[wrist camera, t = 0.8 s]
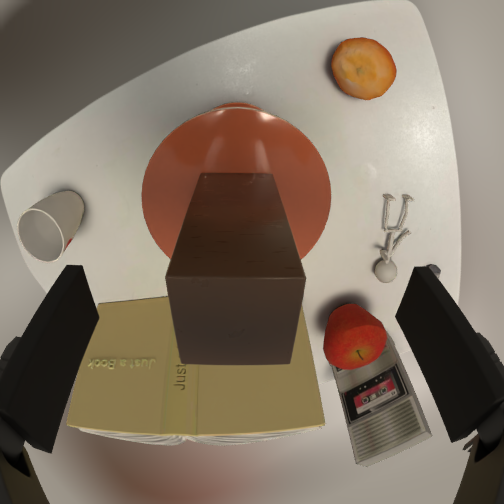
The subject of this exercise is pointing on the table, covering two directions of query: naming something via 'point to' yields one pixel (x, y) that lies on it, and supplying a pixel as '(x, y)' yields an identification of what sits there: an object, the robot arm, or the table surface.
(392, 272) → the figurine
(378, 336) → the apple
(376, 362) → the cassette tape recorder
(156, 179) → the orange pedestal stand
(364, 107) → the table surface
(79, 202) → the cup
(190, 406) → the book
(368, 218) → the table surface
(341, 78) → the fruit
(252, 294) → the walnut block
